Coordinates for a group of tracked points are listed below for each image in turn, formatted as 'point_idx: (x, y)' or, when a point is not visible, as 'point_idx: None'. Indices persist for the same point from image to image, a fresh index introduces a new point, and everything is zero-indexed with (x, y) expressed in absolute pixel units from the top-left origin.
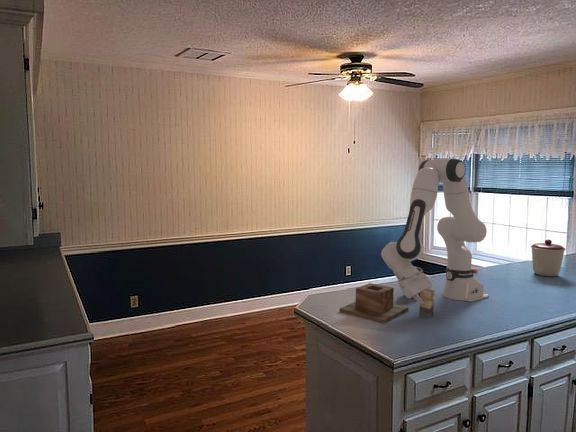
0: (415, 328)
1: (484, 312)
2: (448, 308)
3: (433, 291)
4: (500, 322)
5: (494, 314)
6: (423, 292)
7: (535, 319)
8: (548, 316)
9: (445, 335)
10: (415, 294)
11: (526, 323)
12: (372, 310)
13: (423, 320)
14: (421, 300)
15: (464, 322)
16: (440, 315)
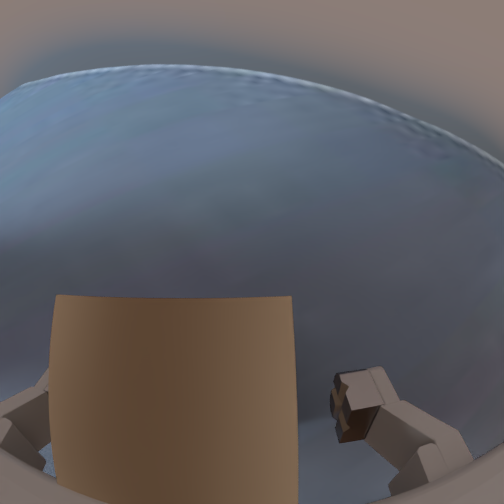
0: (480, 305)
1: (30, 173)
2: (20, 314)
3: (105, 300)
4: (122, 99)
5: (44, 144)
6: (293, 466)
7: (65, 83)
8: (40, 87)
9: (432, 171)
10: (499, 446)
11: (103, 74)
12: None
13: (351, 352)
14: (394, 396)
15: (200, 162)
16: None
